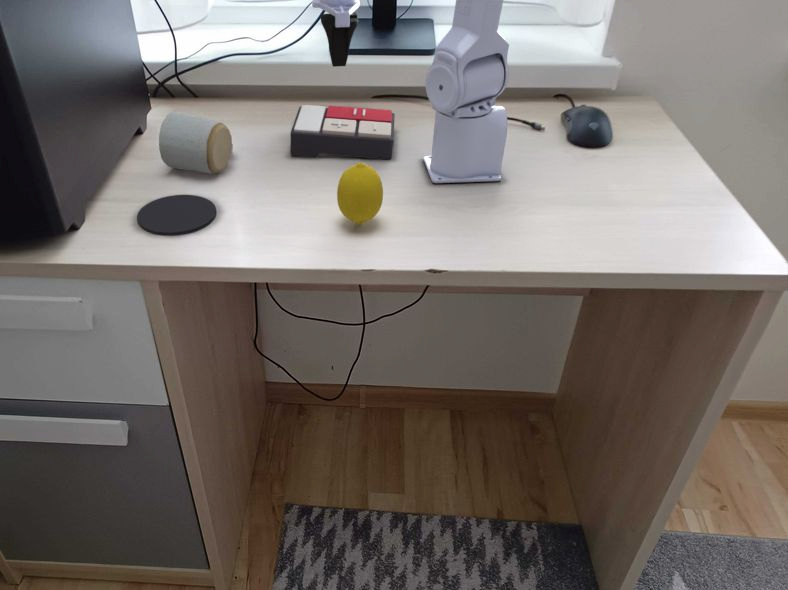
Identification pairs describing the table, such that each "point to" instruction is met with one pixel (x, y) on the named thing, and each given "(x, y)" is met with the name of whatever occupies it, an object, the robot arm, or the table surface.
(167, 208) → the felt coaster
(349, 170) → the lemon
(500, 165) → the robot arm
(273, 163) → the table surface
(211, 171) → the ceramic mug
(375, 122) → the switch panel
